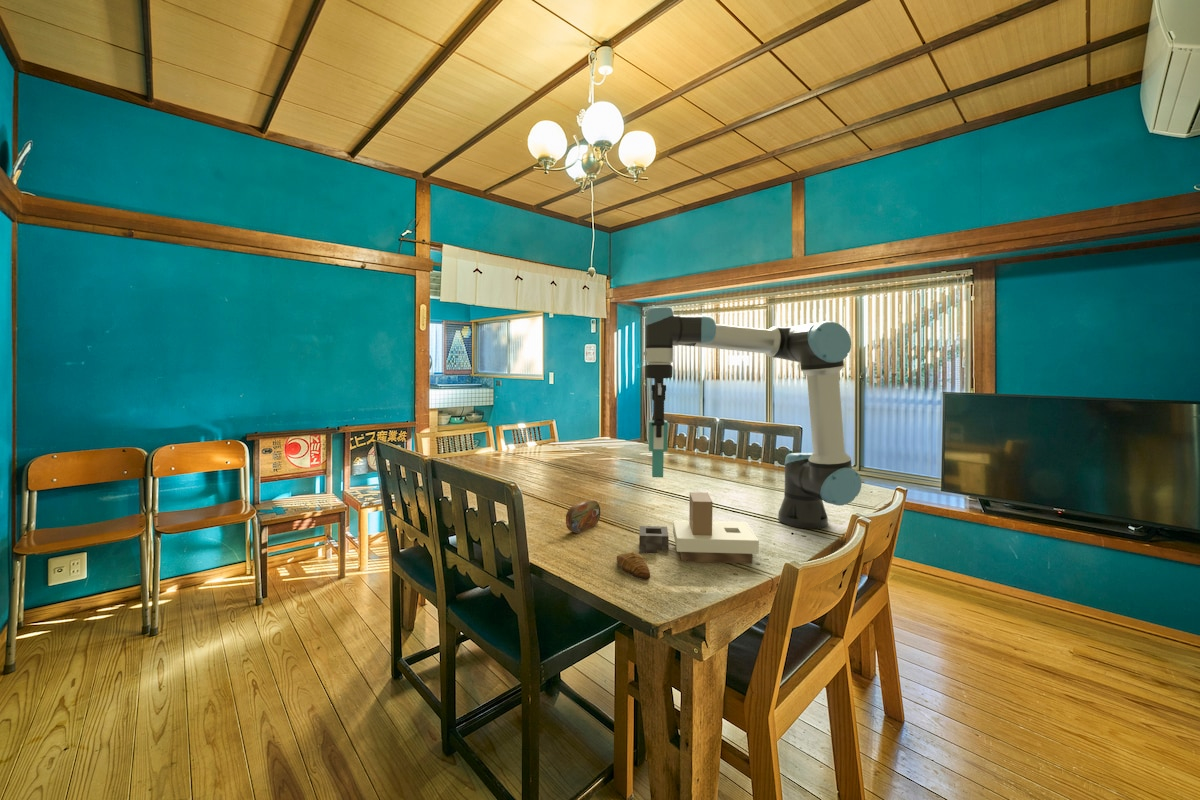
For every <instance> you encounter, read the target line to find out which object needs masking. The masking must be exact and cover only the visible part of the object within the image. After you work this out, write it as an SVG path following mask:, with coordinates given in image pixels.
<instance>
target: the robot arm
mask: <svg viewBox="0 0 1200 800" xmlns="http://www.w3.org/2000/svg"><path fill="white" fill-rule="evenodd" d="M644 326H645V351H644V352H643V353H642V354H643V356H645V363H647V364H645V365H644V366H645V371H644V372H645V373H644V374H645V375H644V377H645V378H647V379H653V380H654V382H653V384H650V386H651V388H650V390H651V392H652V393H651V399H652V401H653V404H652V406H653V407H652V415H653V416H652V420H654V423H652V426H654V440H653V449H663V443H664V420H665V401H666V391H667V385H666V384H664V379H672V378H673V373H674V371H673V369H674V367H673V364H672V363H673V362H674V346H675V347H676V346H684V347H696V348H706V349H707V348H708V349H715V350H716V349H717V350H718V349H719V350H729V351H736V352H737V351H739V352H748V353H756V354H757V353H758V354H759V353H760V354H764V355H765V356H766V357H768V358H775V359H781V360H786V361H791V362H797V363H800V364H799V365H800V371H801V372H802V373H804V374H805V376H806V380H807V392H808V393H807V395H808V405H809V416H810V417H809V418H810V427H811V428H810V429H811V440H812V441H811V442H812V444H811V445H812V452H792V453H788V454H786V456H785V461H784V464H783V465H784V496H783V498H782V499H783V500H782V502H781V505H780V507H779V510H778V516H777V517H778V521H779V522H780V523H782V524H784V525H787V526H790V527H794V528H799V529H809V530H810V529H811V530H813V529H815V530H817V529H823V528H826V527H828V523H829V522H828V520H829V517H828V515H827V511H826V508H825V504H824V503H826V504H830V505H834V506H845V505H848V504H850V503H852V502H853V501H855V498H857V497H858V495H859V494H860V493H861V489H862V483H863V482H862V477H861V475H860V474H859V473H858V471H857V470H856V469H854V468H852V467H853V466H852V457H851V456H850V455H849V454H847V453H846V452H845V451H846V450H845V438H844V426H843V425H844V423H843V414H842V413H843V412H842V410H843V409H842V399H841V387H840V385H841V384H840V375H839V374H840V371H841V370H842V369H844V367H845V363H844V362H845V359H846V358H847V357H848V355H849V354H850V352H851V349H852V338H851V336H850V334H849V331H848V330H847V329H846V328H845V327H844V326H842V325H841V324H840V323H839V322H836V321H819V322H814V323H813V322H812V323H806V324H801V325H800V324H798V325H794V326H793V325H792V326H787V327H779V326H778V327H777V326H772V327H770V328H769V329H765V328H757V327H755V328H754V327H747V326H739V325H738V326H737V325H736V326H735V325H729V324H728V325H727V324H720V323H719V324H718V323H716V320H715V318H714V317H713V316H707V315H677V314H675V313H674V309H673V308H672V307H671V306H653V307H649V308H648V309H647V310H646V315H645V325H644Z"/></svg>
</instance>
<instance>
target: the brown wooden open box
mask: <svg viewBox="0 0 1200 800" xmlns="http://www.w3.org/2000/svg"><path fill="white" fill-rule="evenodd" d="M679 555H680V561H681V562H689V563H690V562H694V563H697V562H698V563H726V564H727V563H728V564H729V563H732V564H733V563H734V564H753V554H742V553H707V552H679Z"/></svg>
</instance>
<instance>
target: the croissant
mask: <svg viewBox="0 0 1200 800" xmlns="http://www.w3.org/2000/svg"><path fill="white" fill-rule="evenodd" d="M616 563H617V565H618V567H620V569H621V570H622V571H623V572H625V573H627V574H628V575H631V576H633V577H635V578H638V579H640V580H644V581H645V580H646V581H647V580H649V579H651V572H650V569H649V567H648V565H647V563H646V561H645V559H644V557H643V556H641V555H640V553H639V554H638V553H635V552H628V553H620V554H618V555H617V556H616Z"/></svg>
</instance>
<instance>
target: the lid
mask: <svg viewBox="0 0 1200 800" xmlns="http://www.w3.org/2000/svg"><path fill="white" fill-rule="evenodd" d="M713 503H714V502H713V500H712V498H711V496H710V494H709V493H708V492H694V491H693V492H691V491H689V510H688V511H689V516H688V517H689V520H683V519H681V520H676V519H674V520H673V521H672V524H673V526H672V527H673V528H672V532H673V538H674V543H675V544H674V545H675V548H676V552H679V553H680V552H707V553H742V554H752V555H759V554H760V551H759V550H760V549H759V548H760V541H759V539H758V537H757V536H756V534H755V533H754V531H753V529H752V528H751V526H750V525H749V524H748V522H747V521H726V520H725V521H724V520H723V521H722V520H719V521H718V520H713V507H714V505H713Z"/></svg>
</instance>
